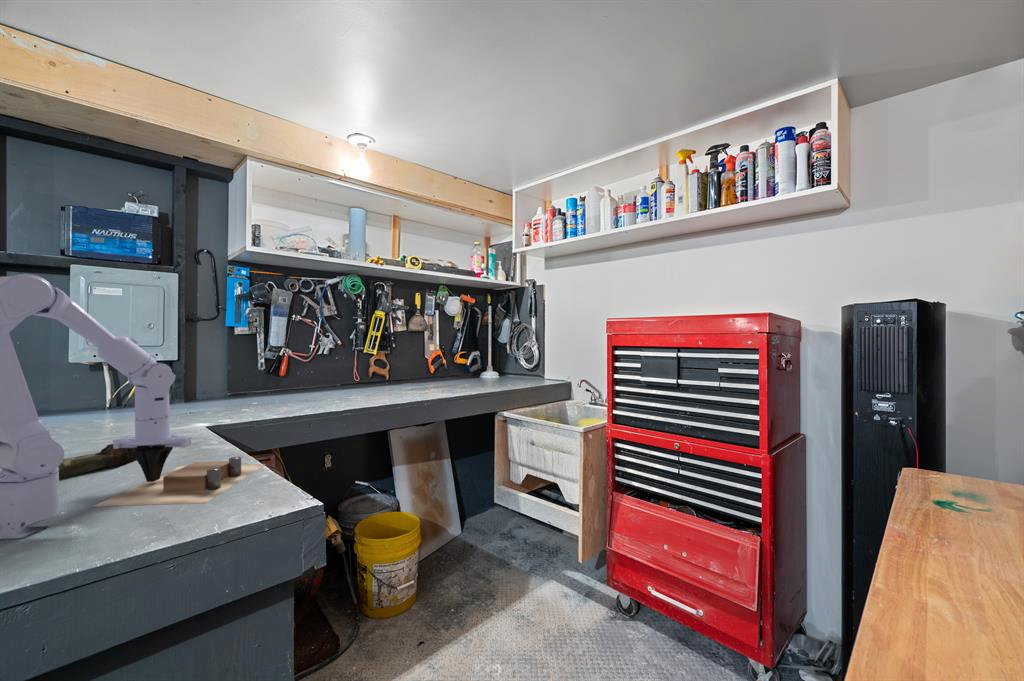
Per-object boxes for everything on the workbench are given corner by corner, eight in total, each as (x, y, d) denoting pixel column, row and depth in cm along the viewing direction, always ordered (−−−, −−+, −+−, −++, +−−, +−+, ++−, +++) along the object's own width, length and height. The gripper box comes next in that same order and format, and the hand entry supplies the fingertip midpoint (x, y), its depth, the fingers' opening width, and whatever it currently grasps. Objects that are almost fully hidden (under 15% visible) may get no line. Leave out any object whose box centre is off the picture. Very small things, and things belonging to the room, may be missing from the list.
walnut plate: (204, 490, 89) (204, 476, 89) (163, 491, 88) (163, 477, 88) (231, 474, 99) (231, 461, 99) (195, 475, 98) (194, 462, 98)
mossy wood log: (52, 483, 97) (51, 458, 97) (43, 478, 101) (42, 454, 101) (148, 462, 113) (147, 441, 113) (137, 458, 116) (137, 437, 116)
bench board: (205, 510, 82) (205, 482, 82) (92, 514, 80) (92, 485, 80) (265, 470, 106) (265, 448, 106) (180, 472, 104) (179, 449, 104)
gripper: (200, 413, 97) (200, 473, 97) (131, 414, 96) (132, 474, 96) (178, 420, 90) (179, 484, 90) (104, 421, 89) (105, 486, 89)
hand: (153, 480), depth 92 cm, fingers closed
